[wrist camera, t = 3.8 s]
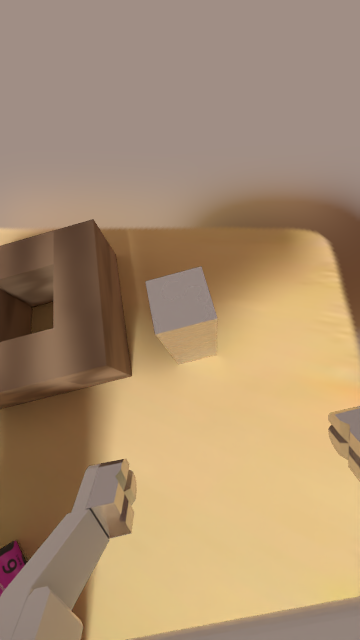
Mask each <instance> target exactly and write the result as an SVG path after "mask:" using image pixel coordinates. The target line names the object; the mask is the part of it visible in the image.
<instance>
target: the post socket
mask: <svg viewBox="0 0 360 640" xmlns="http://www.w3.org/2000/svg"><path fill="white" fill-rule="evenodd" d="M49 302H53V328H51V329H48V330H44V331H40V332H36V333H33V334H31V318H32V307H34V306H38V305H41V304H45V303H49ZM130 376H132V374H131V367H130V359H129V351H128V344H127V336H126V329H125V321H124V314H123V306H122V299H121V291H120V283H119V276H118V268H117V261H116V254H115V253H114V251H113V250H112V248H111V246H110V245H109V243H108V242H107V240H106V239H105V237H104V235H103V234H102V232H101V231H100V229H99V228H98V226H97V224H96V223H95V221H94V220H89V221H86V222H82V223H79V224H75V225H72V226H68V227H65V228H61V229H58V230H54V231H51V232H47V233H44V234H40V235H37V236H33V237H30V238H26V239H23V240H19V241H16V242H12V243H9V244H5V245H2V246H0V409H2V408H6V407H10V406H14V405H18V404H22V403H26V402H30V401H34V400H38V399H42V398H46V397H50V396H54V395H58V394H62V393H66V392H70V391H74V390H78V389H82V388H86V387H90V386H94V385H98V384H102V383H106V382H110V381H114V380H118V379H122V378H126V377H130Z"/></svg>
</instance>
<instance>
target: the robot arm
mask: <svg viewBox="0 0 360 640" xmlns="http://www.w3.org/2000/svg"><path fill="white" fill-rule="evenodd" d="M328 420H329V422H330V423H331V424H332V425H331V426H330V427H329V429H328V430H329V437H330V440H331V443H332V445H333V446H334V448H335V450H336V451H337V452H338V454H339V455H340V456H342V457H344V458H346V459H347V460H348V467H349V468H350V469H351V471H352V472H353V473H354V475H355V476H356V477H357V479H358V480H359V481H360V406H358V407H353V408H348V409H344V410H340V411H336V412H332V413H330V414H329V415H328ZM136 491H137V488H136V479H135V475H134V473H133V472H132V471H131V470H129V463H128V461H127V459H122V460H117V461H112V462H106V463H101V464H97V465H92V466H89V467H88V468H87V469H86V471H85V474H84V477H83V480H82V483H81V486H80V488H79V491H78V494H77V497H76V500H75V503H74V506H73V509H72V512H71V513H68V514H67V515H66V516H65V517H64V518H63V519H62V521H61V522H60V523H59V524H58V526H57V527H56V528H55V529H54V530H53V532H52V533H51V534H50V535H49V537H48V538H47V539H46V540H45V541H44V543H43V544H42V545H41V546H40V548H39V549H38V550H37V551H36V552H35V554H34V555H33V556H32V557H31V559H30V560H29V561H28V562H27V563H26V565H25V566H24V567H23V568H22V570H21V571H20V572H19V573H18V574H17V576H16V577H15V578H14V579H13V580H12V582H11V583H10V584H9V585H8V587H7V588H6V589H5V590H4V591H3V593H2V594H1V597H0V640H81V636H82V631H83V625H82V622H81V620H80V619H79V618H78V617H77V616H76V615H75V614H74V613H73V612H72V611H71V610H72V609H73V607H74V605H75V603H76V601H77V599H78V597H79V596H80V594H81V592H82V590H83V588H84V586H85V584H86V583H87V581H88V579H89V577H90V575H91V573H92V571H93V570H94V568H95V566H96V564H97V562H98V560H99V559H100V557H101V555H102V553H103V551H104V549H105V547H106V546H107V544H108V542H109V539H110V538H114V537H118V536H122V535H126V534H130V533H132V525H133V517H134V511H133V509H132V507H131V505H132V504H133V502H134V501H135V499H136ZM127 640H360V596H359V597H353V598H348V599H343V600H337V601H332V602H326V603H321V604H316V605H310V606H305V607H300V608H294V609H289V610H283V611H278V612H273V613H267V614H262V615H256V616H251V617H246V618H240V619H235V620H230V621H224V622H219V623H213V624H208V625H203V626H197V627H192V628H187V629H181V630H176V631H170V632H165V633H160V634H154V635H149V636H143V637H138V638H133V639H127Z"/></svg>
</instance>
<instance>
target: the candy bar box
mask: <svg viewBox="0 0 360 640" xmlns="http://www.w3.org/2000/svg"><path fill="white" fill-rule="evenodd" d="M25 565H26V562H25V559H24V557H23V555H22V553H21V550H20V548H19V546H18V543H17V541H16V540H15V541H13V542H11V543H10V544H8V545H6V546H5V547H3V548H1V549H0V597H1V594H2V593H3V591H4V590H5V589H6V588H7V587H8V585H9V584H10V583H11V582H12V580H13V579H14V578H15V577H16V576H17V574H18V573H19V572H20V571H21V570H22V568H23V567H24V566H25Z"/></svg>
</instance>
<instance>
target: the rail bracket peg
mask: <svg viewBox="0 0 360 640" xmlns="http://www.w3.org/2000/svg"><path fill="white" fill-rule="evenodd" d="M145 283H146V288H147V293H148V299H149V304H150V310H151V315H152V320H153V326H154V331H155V335H156V336H157V338H158V339H159V340H160V341H161V343H162V344H163V345H164V347H165V348H166V349H167V350H168V352H169V353H170V354H171V356H172V357H173V358H174V359H175V361H176V362H177V363H178V364H182V363H186V362H190V361H195V360H199V359H203V358H207V357H211V356H215V355H217V315H216V312H215V309H214V306H213V302H212V299H211V296H210V293H209V289H208V286H207V283H206V280H205V277H204V273H203V270H202V267H197V268H193V269H189V270H186V271H182V272H178V273H175V274H171V275H167V276H163V277H160V278H156V279H152V280H149V281H145Z"/></svg>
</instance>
